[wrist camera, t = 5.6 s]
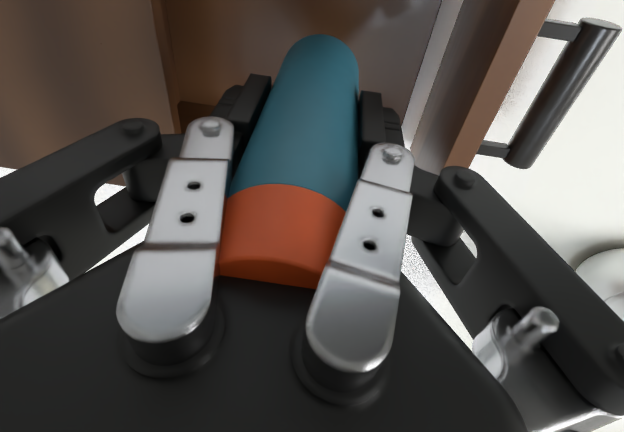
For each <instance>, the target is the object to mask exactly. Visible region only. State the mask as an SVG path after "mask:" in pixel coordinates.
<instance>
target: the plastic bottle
mask: <svg viewBox="0 0 624 432" xmlns="http://www.w3.org/2000/svg"><path fill="white" fill-rule="evenodd" d="M576 273H577V274H578V275H579V276H580V277H581V278H582V279H583V280H584V281H585V282H586V283H587V284H588V285H589V286H590V288H591V289H592V290H593V291H594V292H595V293H596V294H597V295H598V296H599V297H600V298H601V299H602V300H603V301H604V302H605V303H606V304H607V305H608V306H609V307H610V308H611V309H612V310H613V311H614V312H615V313H616V314H617V315H618V316H619V317H620V318H621V319H622V320H623V321H624V248H620V249H613V250H608V251H604V252H601V253H598V254H596V255H593V256H591V257H590V258H588V259H586V260H585V261H583V262H582V263H581V264H580V265H579V266H578V268H577V269H576Z"/></svg>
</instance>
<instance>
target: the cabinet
mask: <svg viewBox="0 0 624 432" xmlns="http://www.w3.org/2000/svg"><path fill="white" fill-rule="evenodd" d="M129 118H145V119H150V120H152V121H154V122H156V123H157V124H158V125H159V128H160V133H161V134H181V127H180V121H179V115H178V109H177V103H176V96H175V90H174V84H173V78H172V72H171V65H170V59H169V53H168V47H167V41H166V34H165V28H164V22H163V16H162V10H161V4H160V0H0V167H4V168H11V169H17V170H18V169H20V168H22V167H24V166H26V165H29V164H31V163H33V162H35V161H37V160H39V159H41V158H43V157H45V156H47V155H49V154H51V153H53V152H56V151H58V150H60V149H62V148H64V147H66V146H68V145H70V144H72V143H74V142H76V141H78V140H81V139H83V138H85V137H87V136H89V135H91V134H93V133H95V132H97V131H99V130H101V129H103V128H106V127H108V126H110V125H112V124H114V123H116V122H118V121H121V120H124V119H129ZM107 184H114V185H120V186H126V184H125V181H124V178H123V175H122V174H120V175H118V176H117V177H115V178H113V179H112V180H110V181H108V182H107Z"/></svg>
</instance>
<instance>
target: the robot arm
mask: <svg viewBox="0 0 624 432" xmlns="http://www.w3.org/2000/svg"><path fill="white" fill-rule="evenodd" d="M271 88H272V80H271V76H265V75H259V74H252V73H251V74H250V75H249V77H248V79H247V81H246V82H245V84H244V86H241V85H234V86H232V87H230V88H229V89H227V90H226V91H225V92H224V94H223V96H222V98H221V99H220V100H219V102H218V104H217V105H216V106H215V108H214V109H213V111H212V113H211V114H210V116H209V117H202V118H198V119H195V120H193V121H192V122H191V123H189V125H188V127H187V130H186V133H181V134H161V133H160V128H159V125H158V124H157V123H156V122H154V121H152V120H150V119H145V118H129V119H124V120H121V121H118V122H116V123H114V124H112V125H110V126H108V127H106V128H103V129H101V130H99V131H97V132H95V133H93V134H91V135H89V136H87V137H85V138H83V139H81V140H78V141H76V142H74V143H72V144H70V145H68V146H66V147H64V148H62V149H60V150H58V151H56V152H53V153H51V154H49V155H47V156H45V157H43V158H41V159H39V160H37V161H35V162H33V163H31V164H29V165H26V166H24V167H22V168H20V169H18V170H16V171H14V172H12V173H10V174H8V175H6V176H4V177H1V178H0V432H591V431H593V430H596V429H598V428H600V427H603V426H605V425H607V424H610V423H612V422H614V421H616V420H619V419H621V418H623V417H624V321H623V320H622V319H621V318H620V317H619V316H618V315H617V314H616V313H615V312H614V311H613V310H612V309H611V308H610V307H609V306H608V305H607V304H606V303H605V302H604V301H603V300H602V299H601V298H600V297H599V296H598V295H597V294H596V293H595V292H594V291H593V290H592V289H591V288H590V286H589V285H588V284H587V283H586V282H585V281H584V280H583V279H582V278H581V277H580V276H579V275H578V274H577V273H576V272H575V271H574V270H573V269H572V268H571V267H570V266H569V265H568V264H567V263H566V262H565V261H564V260H563V259H562V258H561V257H560V256H559V255H558V254H557V253H556V252H555V251H554V250H553V249H552V248H551V247H550V246H549V245H548V244H547V242H546V241H545V240H544V239H543V238H542V237H541V236H540V235H539V234H538V233H537V232H536V231H535V230H534V229H533V228H532V227H531V226H530V225H529V224H528V223H527V222H526V221H525V220H524V219H523V218H522V217H521V216H520V215H519V214H518V213H517V212H516V211H515V210H514V209H513V208H512V207H511V206H510V205H509V204H508V203H507V202H506V201H505V199H504V198H503V197H502V196H501V195H500V194H499V193H498V192H497V191H496V190H495V189H494V188H493V187H492V186H491V185H490V184H489V183H488V182H487V181H486V180H485V179H484V178H483V177H482V176H481V175H479V174H478V173H476V172H475V171H473V170H471V169H468V168H465V167H461V166H447V167H445V168H443V169H442V170H441V172H440V174H439V175H436V174H433V173H430V172H427V171H425V170H422V169H420V168H418V167H417V166H415V165H414V162H415V158H414V156H413V154H412V153H411V152H410V151H409V150H408V149H406V148H405V146H404V140H403V134H402V129H401V123H400V117H399V115H398V114H397V113H396V112H395V110H394V109H393V108H386V107H383V105H382V95H381V93H377V92H371V91H364V90H362V91H361V94H360V98H359V102H358V181H357V183H356V186H355V189H354V192H353V194H352V197H351V200H350V202H349V205H348V208H347V211H346V213H345V216H344V219H343V222H342V224H341V227H340V230H339V233H338V235H337V238H336V241H335V244H334V246H333V249H332V252H331V255H330V257H329V260H328V262H327V263H326V265H325V267H324V270H323V273H322V275H321V278H320V281H319V283H318V286H317V289H311V288H304V287H297V286H291V285H284V284H277V283H270V282H264V281H257V280H250V279H243V278H236V277H230V276H223V275H220V266H219V257H220V250H221V242H222V234H223V227H224V220H225V213H226V206H227V200H228V197H229V192H230V187H231V182H232V180H233V177H234V175H235V173H236V170H237V168H238V166H239V163H240V161H241V159H242V156H243V154H244V152H245V149H246V147H247V145H248V142H249V140H250V138H251V135H252V133H253V131H254V128H255V126H256V124H257V121H258V119H259V117H260V114H261V112H262V110H263V107H264V105H265V103H266V100H267V98H268V96H269V93H270V91H271ZM120 174H122V175H123V178H124V181H125V184H126V187H125V188H124V189H122V190H121V191H119V192H117V193H116V194H114V195H113V196H111V197H110V198H108V199H107V200H105V201H103V202H102V203H100V204H99V205H97V206H96V205H95V202H94V195H95V193H96V191H97V190H98V188H99V187H100V186H102V185H103V184H105V183H107V182H108V181H110V180H112V179H113V178H115V177H117V176H118V175H120ZM149 223H150V224H149ZM147 224H149V227H148V230H147V233H146V237H145V240H144V241H143V242H141V243H139V244H137V245H136V246H134V247H132V248H130V249H128V250H126V251H124V252H123V253H121V254H119V255H117V256H115V257H113V258H112V259H110V260H108V261H106V262H104V263H102V264H101V265H99V266H97V267H95V268H93V269H91V270H89V269H90V268H92V267H93V266H94V265H95V264H97V263H98V262H99V261H101V260H102V259H103V258H105V257H106V256H107V255H108V254H110V253H111V252H112V251H114V250H115V249H116V248H118V247H119V246H120V245H121V244H123V243H124V242H125V241H127V240H128V239H129V238H131V237H132V236H133V235H134V234H136V233H137V232H138V231H140V230H141V229H142V228H144V227H145V226H146V225H147ZM463 230H465V231H466V233H467V234H468V235H469V237H470V238H471V239H472V240H473V242H474V243H475V245H476V248H477V258H475V257H474V255H473V254H472V253H471V251H470V250H469V249H468V248H467V246H466V245H465V244H464V242H463V241H462V240H461V238H460V235H461V234H462V232H463ZM406 234H408V235H410V236H412V237H411V239H412V243H413V245H414V247H415V248H416V250H417V251H418V253H419V254H420V256H421V258H422V259H423V261H424V262H425V264H426V266H427V267H428V269H429V270H430V272H431V273H432V275H433V277H434V278H435V280H436V281H437V283H438V285H439V286H440V288H441V289H442V291H443V292H444V294H445V296H446V297H447V299H448V300H449V302H450V304H451V305H452V307H453V308H454V310H455V311H456V313H457V315H458V316H459V318H460V319H461V321H462V323H463V324H464V326H465V327H466V329H467V330H468V332H469V334H470V335H471V337H472V338H473V344H472V350H473V352H472V351H471V350H470V349H469V348H468V347H467V345H466V344H465V343H464V342H463V341H462V340H461V339H460V337H459V336H458V335H457V334H456V333H455V332H454V331H453V330H452V328H451V327H450V326H449V325H448V324H447V323H446V322H445V320H444V319H443V318H442V317H441V316H440V315H439V314H438V313H437V311H436V310H435V309H434V308H433V307H432V306H431V305H430V303H429V302H428V301H427V300H426V299H425V298H424V297H423V296H422V294H421V293H420V292H419V291H418V290H417V289H416V288H415V286H414V285H413V284H412V283H411V282H410V281H409V280H408V279H407V277H406V276H405V275H404V274H403V273H402V272H401V265H402V259H403V252H404V246H405V240H406ZM88 270H89V271H88ZM86 271H88V272H86ZM85 272H86V273H85Z"/></svg>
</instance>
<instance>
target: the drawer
mask: <svg viewBox="0 0 624 432" xmlns="http://www.w3.org/2000/svg"><path fill="white" fill-rule="evenodd" d="M441 2H442V0H160V4H161V10H162V16H163V22H164V28H165V34H166V41H167V47H168V53H169V59H170V65H171V72H172V78H173V84H174V90H175V96H176V103H177V109H178V115H179V121H180V127H181V133H186V130H187V127H188V125H189V123H191V122H192V121H193V120H195V119H198V118H202V117H209V116H210V114H211V113H212V111H213V109H214V108H215V106H216V105H217V104H218V102H219V100H220V99H221V98H222V96H223V94H224V92H225V91H226V90H227V89H229V88H230V87H232V86H234V85H241V86H244V84H245V82H246V81H247V79H248V77H249V75H250V74H251V73H252V74H259V75H265V76H271V80H272V86H273V84H274V82H275V79H276V77H277V75H278V72H279V70H280V68H281V65H282V63H283V61H284V58H285V56H286V54H287V52H288V51H289V49H290V48H291V47H292V46H293V45H294V44H295V43H296V42H297V41H299V40H300V39H302V38H304V37H307V36H309V35H314V34H325V35H330V36H333V37H335V38H337V39H339V40H341V41H342V42H343V43H345V44H346V45H347V46H348V47H349V48H350V50H351V51H352V52H353V54H354V56H355V58H356V61H357V64H358V69H359V98H360V94H361V91H362V90H364V91H371V92H377V93H381V95H382V105H383V107H386V108H393V109H394V110H395V112H396V113H397V114H398V115H399V117H400V123H401V126H402V123H403V119H404V116H405V113H406V110H407V107H408V104H409V101H410V98H411V95H412V92H413V88H414V85H415V82H416V79H417V76H418V73H419V70H420V67H421V64H422V61H423V57H424V54H425V51H426V48H427V45H428V42H429V39H430V36H431V33H432V30H433V26H434V23H435V20H436V17H437V14H438V11H439V8H440V5H441ZM554 2H555V0H463V3H462V6H461V8H460V11H459V14H458V17H457V19H456V22H455V25H454V28H453V31H452V33H451V36H450V39H449V42H448V45H447V47H446V50H445V53H444V56H443V58H442V61H441V64H440V67H439V70H438V72H437V75H436V78H435V81H434V83H433V86H432V89H431V92H430V95H429V97H428V100H427V103H426V106H425V108H424V111H423V114H422V117H421V120H420V122H419V125H418V128H417V131H416V134H415V136H414V139H413V142H412V145H411V147H410V149H411V153H412V154H413V156H414V158H415V162H414V165H415V166H417V167H418V168H420V169H422V170H425V171H427V172H430V173H433V174H436V175H439V174H440V172H441V170H442V169H443V168H445V167H447V166H461V167H465V168H469V166H470V164H471V162H472V160H473V158H474V156H475V154H480V155H486V156H493V157H499V158H503V160H504V161H505V162H506V163H508V164H509V165H511V166H513V167H516V168H520V169H528V168H530V167H531V166H532V165H533V163H534V162H535V160H536V159H537V157H538V156H539V154H540V153H541V151H542V150H543V148H544V147H545V145H546V144H547V142H548V141H549V139H550V138H551V136H552V135H553V133H554V132H555V130H556V129H557V127H558V126H559V124H560V123H561V121H562V120H563V118H564V117H565V115H566V114H567V112H568V111H569V109H570V108H571V106H572V105H573V103H574V102H575V100H576V99H577V97H578V96H579V94H580V93H581V91H582V90H583V88H584V87H585V85H586V84H587V82H588V81H589V79H590V78H591V76H592V75H593V73H594V72H595V70H596V69H597V67H598V66H599V64H600V63H601V61H602V60H603V58H604V57H605V55H606V54H607V52H608V51H609V49H610V48H611V46H612V45H613V43H614V42H615V40H616V39H617V37H618V36H619V34H620V33H621V31H622V28H621V27H620V26H619V25H616V24H614V23H611V22H608V21H604V20H600V19H595V18H582V19H581V20H580V21H579V22H578V24H576V23H570V22H564V21H558V20H551V19H546V17H547V15H548V13H549V11H550V9H551V8H552V6H553V4H554ZM537 36H539V37H546V38H552V39H558V40H565V41H567V43H566V45H565V47H564V48H563V50H562V52H561V54H560V55H559V57H558V59H557V60H556V62H555V64H554V66H553V67H552V69H551V71H550V73H549V74H548V76H547V78H546V79H545V81H544V83H543V85H542V86H541V88H540V90H539V92H538V93H537V95H536V97H535V98H534V100H533V102H532V104H531V105H530V107H529V109H528V111H527V112H526V114H525V116H524V117H523V119H522V121H521V123H520V124H519V126H518V128H517V130H516V131H515V133H514V135H513V136H512V138H511V140H510V142H509V143H508V145H507V144H504V143H498V142H491V141H485V140H483V139H484V137H485V135H486V133H487V131H488V129H489V127H490V125H491V124H492V122H493V120H494V118H495V116H496V114H497V112H498V110H499V108H500V106H501V104H502V102H503V100H504V98H505V96H506V95H507V93H508V91H509V89H510V87H511V85H512V83H513V81H514V79H515V77H516V75H517V73H518V71H519V69H520V67H521V66H522V64H523V62H524V60H525V58H526V56H527V54H528V52H529V50H530V48H531V46H532V44H533V42H534V40H535V38H536V37H537ZM271 89H272V88H271Z"/></svg>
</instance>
